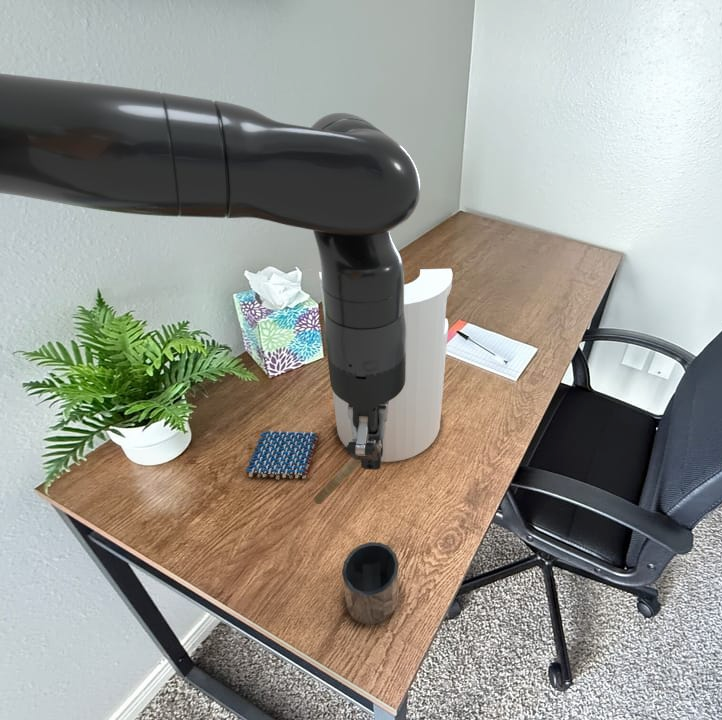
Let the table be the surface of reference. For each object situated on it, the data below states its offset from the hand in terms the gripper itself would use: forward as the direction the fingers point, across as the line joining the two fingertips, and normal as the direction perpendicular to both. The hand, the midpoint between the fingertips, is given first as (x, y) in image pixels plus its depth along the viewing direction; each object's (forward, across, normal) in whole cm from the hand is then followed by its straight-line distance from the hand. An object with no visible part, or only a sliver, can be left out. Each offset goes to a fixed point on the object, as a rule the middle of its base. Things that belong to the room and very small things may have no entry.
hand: (372, 460), depth 56 cm
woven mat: (+26, -21, -20) cm, 39 cm away
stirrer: (+2, 0, -3) cm, 4 cm away
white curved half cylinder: (+26, -26, -1) cm, 37 cm away
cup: (+26, +4, 0) cm, 26 cm away
